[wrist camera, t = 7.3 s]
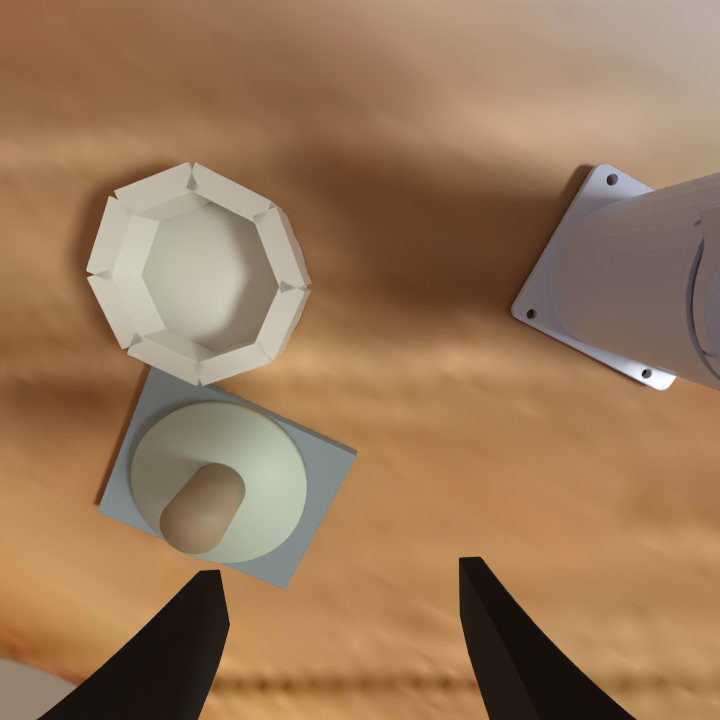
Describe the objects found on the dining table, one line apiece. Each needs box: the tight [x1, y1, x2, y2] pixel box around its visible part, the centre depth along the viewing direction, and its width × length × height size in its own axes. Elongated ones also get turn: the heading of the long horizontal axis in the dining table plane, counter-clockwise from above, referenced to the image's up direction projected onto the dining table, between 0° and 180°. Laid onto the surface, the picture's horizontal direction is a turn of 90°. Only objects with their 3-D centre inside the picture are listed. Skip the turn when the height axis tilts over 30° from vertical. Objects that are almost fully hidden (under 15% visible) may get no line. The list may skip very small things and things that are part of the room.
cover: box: [131, 400, 308, 563], centre depth 19 cm, size 10×10×4 cm
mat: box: [97, 366, 357, 590], centre depth 22 cm, size 12×10×1 cm
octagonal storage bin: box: [86, 162, 312, 386], centre depth 18 cm, size 9×9×3 cm
